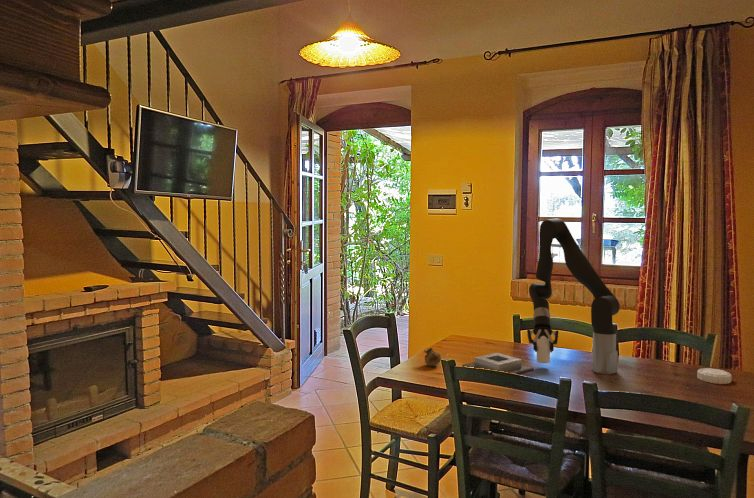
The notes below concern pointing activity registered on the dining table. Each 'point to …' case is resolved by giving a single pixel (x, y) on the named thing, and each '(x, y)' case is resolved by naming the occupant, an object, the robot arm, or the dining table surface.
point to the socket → (499, 363)
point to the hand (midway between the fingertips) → (543, 351)
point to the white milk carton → (543, 350)
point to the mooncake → (714, 375)
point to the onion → (432, 357)
